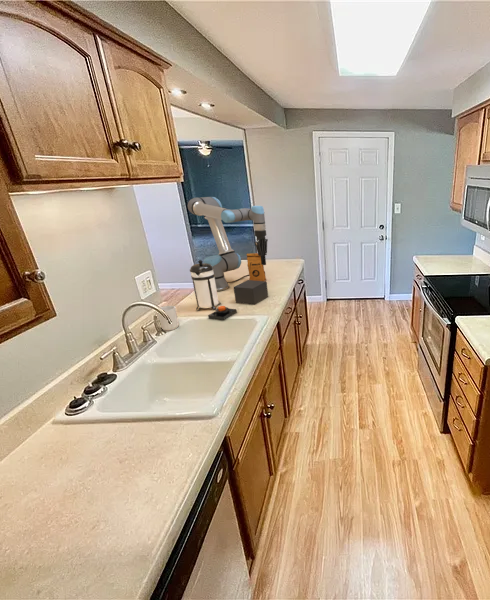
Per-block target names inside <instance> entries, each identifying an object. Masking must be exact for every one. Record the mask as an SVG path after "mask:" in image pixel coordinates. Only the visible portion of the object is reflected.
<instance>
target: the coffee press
mask: <svg viewBox="0 0 490 600" xmlns="http://www.w3.org/2000/svg"><path fill="white" fill-rule="evenodd" d="M213 269H214V268H213V267H212V265H211V264H208V263H204V260H201V259H199V260H198V261H197V263H195V264H193V265H191V267H190V269H189V272H190V275H191V276H190V277H191V280H192V285H193V291H194V295H195V300H196V305H197V306H196V308H195V311H197V312H200V310H201V309H212V311H215V310H216V309H217V308H216V307H217V306H218V305H219V306H221V302H220V300H219V296H218V291H217V289H216V283H215V278H214V277H215V275H214V272H213Z"/></svg>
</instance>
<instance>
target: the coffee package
mask: <svg viewBox="0 0 490 600" xmlns="http://www.w3.org/2000/svg"><path fill="white" fill-rule="evenodd" d="M246 261H247V271H248V275H249V279H248V280H255V281H266V280H267V277H266V276H267V275H266V272H265V267H264V266H265V265H261V257H260V256H259V255H258V252H257V253H256V252H255V253H253V252H252V253H246Z"/></svg>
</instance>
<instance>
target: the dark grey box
mask: <svg viewBox="0 0 490 600" xmlns="http://www.w3.org/2000/svg"><path fill="white" fill-rule="evenodd" d="M266 282H267V281H266V280H265V281H255V280H249V279H247V280H245V281H243V282H240V283H239V284H236V285H235V286H233V293H234V299H235V303H236V304H243V305H251V306H253V305H254V306H255V305H257V304H259V303H261V302H262V301H263V300H265V299H267V298H268V297H269V291H268V292H267V290H268V283H266Z"/></svg>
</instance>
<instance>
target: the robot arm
mask: <svg viewBox="0 0 490 600" xmlns="http://www.w3.org/2000/svg"><path fill="white" fill-rule="evenodd" d="M187 209H188V211H189V212H190V213H191V214H192V215H194V216H199V217H201V216H203V217H204V219H205V220H207V222H208V224H209V227H210V230H211V234H212V236H213V238H214V241H215V244H216V247H217V249H218V254H214V255H210V256H206V257H205V258H204V259H203V263H208V264H211V265H212V267H213V268H214V269H213V272H214V275H215V277H214V278H215V283H216V289H217V292H222V291H226V290H228V289H229V288H230V286H229V284H232V283H235V282H238V281H239V280H242V279H243V278H246V277H250V275H249V274H247V275H243V276H242V277H240V278H238V279H235V280H232V281H227V280H226V277H225V273H228V272H231V271H235V270H238V269H239V268H240V267H241V265H242V258H241V255H239V253H238V252H236V251H235V250H234V249H233V248H232V247H231V243H230V241H229V238H228V236H227V233H226V230H225V227H224V224H223V222H224V223H226V224H228V223H229V224H232V223H236V222H237V223H238V222H244V221H252V224H253V226H252V227H253V230H254V231H253V233H254V237H255V238H256V241H254V245H255V248H256V252H257V253H258V255H259V256H260V257H261V265H263V266H266V265H267V258H266V256H267V254H268V240H269V239H268V238H266V237H267V230H266V229H267V228H266V226H267V225H266V218H265V217H266V216H265V209H264V206H263V205H252V206H251V207H250V208H247V207H241V208H237V209H229V208H225V207H223V204H222V202H221V201H220V199H218V198H217V197H215V196H203V197H193V198H191V199H190V200H189V201H188V202H187Z"/></svg>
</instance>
